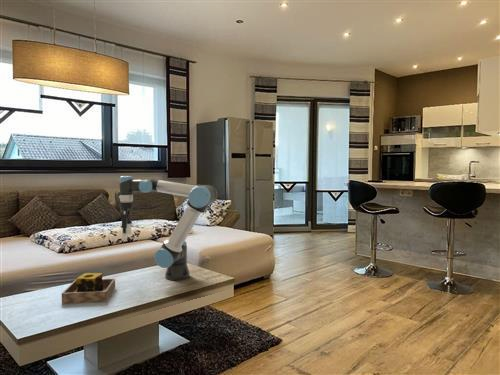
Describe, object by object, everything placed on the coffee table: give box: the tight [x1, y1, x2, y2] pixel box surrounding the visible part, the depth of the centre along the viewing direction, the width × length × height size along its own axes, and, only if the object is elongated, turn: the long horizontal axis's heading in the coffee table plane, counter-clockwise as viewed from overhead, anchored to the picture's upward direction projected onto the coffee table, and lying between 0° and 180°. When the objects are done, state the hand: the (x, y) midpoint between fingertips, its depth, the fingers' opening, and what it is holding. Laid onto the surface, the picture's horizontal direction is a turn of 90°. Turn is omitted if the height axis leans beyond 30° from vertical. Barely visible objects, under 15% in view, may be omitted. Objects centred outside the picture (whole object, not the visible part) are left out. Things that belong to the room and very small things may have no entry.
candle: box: [75, 272, 104, 292], centre depth 201 cm, size 10×10×10 cm
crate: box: [61, 278, 116, 305], centre depth 202 cm, size 22×22×6 cm
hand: (126, 236), depth 228 cm, fingers open, 13 cm apart
